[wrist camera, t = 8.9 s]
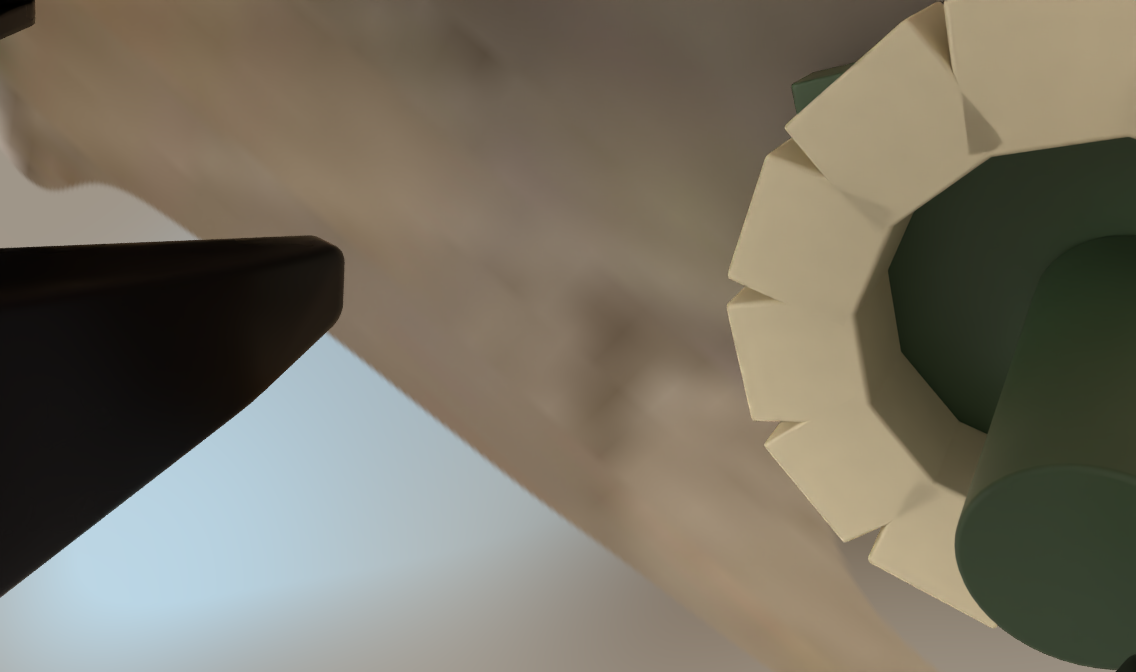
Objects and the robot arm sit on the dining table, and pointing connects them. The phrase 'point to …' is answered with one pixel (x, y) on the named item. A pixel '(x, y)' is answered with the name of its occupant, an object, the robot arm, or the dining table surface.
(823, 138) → the ring
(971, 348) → the peg stand
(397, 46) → the dining table surface
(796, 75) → the dining table surface
